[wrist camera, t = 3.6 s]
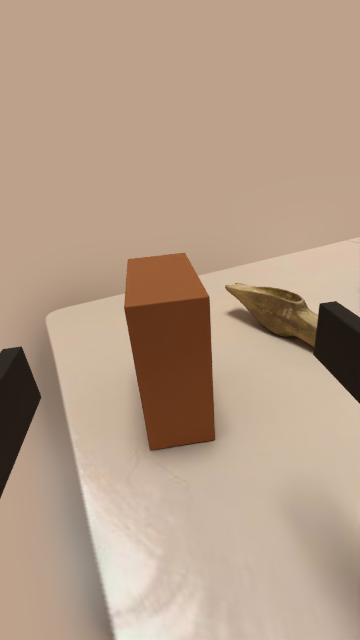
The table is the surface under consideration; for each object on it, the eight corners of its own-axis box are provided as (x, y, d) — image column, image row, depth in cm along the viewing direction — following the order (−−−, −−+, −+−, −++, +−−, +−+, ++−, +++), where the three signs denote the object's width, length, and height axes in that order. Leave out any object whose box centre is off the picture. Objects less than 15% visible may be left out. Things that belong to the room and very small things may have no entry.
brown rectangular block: (150, 450, 23) (123, 307, 18) (145, 371, 32) (127, 259, 26) (215, 440, 24) (209, 296, 18) (193, 364, 32) (184, 252, 27)
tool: (427, 383, 29) (448, 342, 26) (392, 412, 26) (413, 369, 23) (254, 296, 45) (257, 266, 43) (220, 307, 42) (222, 276, 40)
